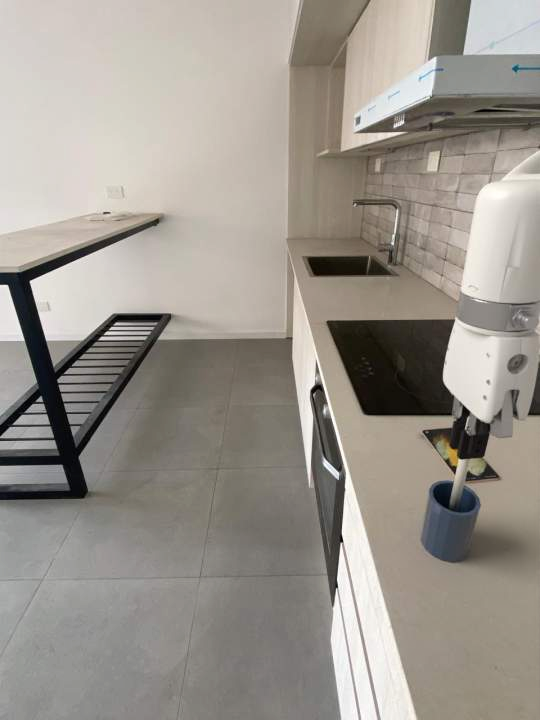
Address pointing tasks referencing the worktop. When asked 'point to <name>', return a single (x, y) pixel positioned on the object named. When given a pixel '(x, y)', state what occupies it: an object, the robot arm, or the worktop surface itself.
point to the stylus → (459, 483)
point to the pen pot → (449, 522)
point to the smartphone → (440, 444)
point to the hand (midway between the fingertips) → (466, 451)
